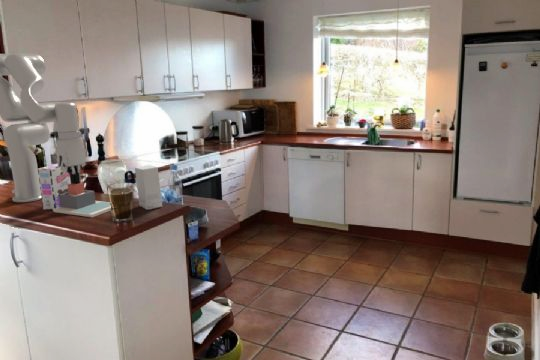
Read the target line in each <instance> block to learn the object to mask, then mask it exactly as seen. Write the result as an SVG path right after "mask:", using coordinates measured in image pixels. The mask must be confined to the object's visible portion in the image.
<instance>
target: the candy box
mask: <svg viewBox="0 0 540 360" xmlns="http://www.w3.org/2000/svg"><path fill="white" fill-rule="evenodd" d="M37 168H38V167H37ZM38 175H39V182H40V190H41V197H42V199H41V203H42V210H46V211H53V209H56V208H59V207H60V200H59V195H60V194H63V193H66V192H68V185H67V184H70V183H71V181H70V174H68V172H67V171H61V167H60V166H58V164H57V163H54V164H51V165H47V166H44V167H40V168H38Z"/></svg>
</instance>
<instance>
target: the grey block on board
mask: <svg viewBox="0 0 540 360" xmlns="http://www.w3.org/2000/svg"><path fill="white" fill-rule="evenodd" d="M84 192H85V193H84V194H80V195H77V196H73V195H68V194H69V192H66V193H63V194H60V195H59V200H60V207H59V208H56V209H53V210H52V211H53V213H57V214H59V213H60V214H66V215H72V216H82V217H87V218H95V217H97V216H100V215H102V214H105V213H108V212H110V211H112V210H111V205H110V202H109V201H100V200H96V196H95V195H96V194H95V190H90V189H89V190H88V189H84Z"/></svg>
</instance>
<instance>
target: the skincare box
mask: <svg viewBox="0 0 540 360" xmlns="http://www.w3.org/2000/svg"><path fill="white" fill-rule="evenodd" d="M134 173H135V179H136V188H137V197H138V204H139V207H140V208H141V207H142V208H143V209H145V210H148V211H149V210H154V209H157V208H162V207H163V200H162V192H161V185H160V176H159V169H158V166H155V165H151V164H146V165H142V166H136V167H134Z"/></svg>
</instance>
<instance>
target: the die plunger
mask: <svg viewBox="0 0 540 360" xmlns="http://www.w3.org/2000/svg"><path fill="white" fill-rule="evenodd" d="M67 185H68V192H69V194H68V195H73V196H77V195H80V194H84V193H85V192H84V190H85V185H84V182H83V181H80V183H79V184H71V183H70V184H67Z"/></svg>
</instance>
